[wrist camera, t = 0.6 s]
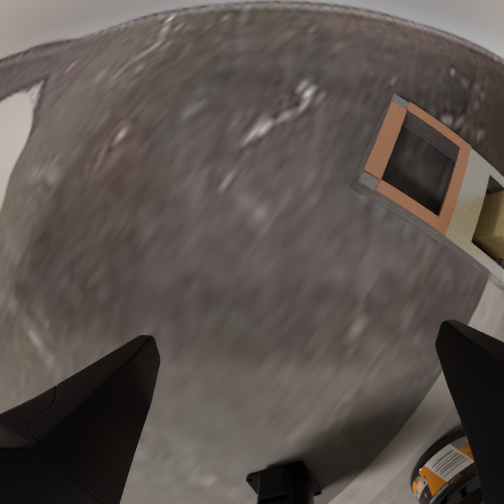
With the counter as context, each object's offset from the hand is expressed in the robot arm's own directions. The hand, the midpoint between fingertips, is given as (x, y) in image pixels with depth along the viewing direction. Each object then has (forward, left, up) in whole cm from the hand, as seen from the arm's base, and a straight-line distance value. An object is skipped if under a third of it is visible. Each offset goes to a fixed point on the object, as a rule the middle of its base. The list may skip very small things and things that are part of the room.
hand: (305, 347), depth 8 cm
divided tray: (0, -18, -15) cm, 23 cm away
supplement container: (-30, -9, -16) cm, 35 cm away
